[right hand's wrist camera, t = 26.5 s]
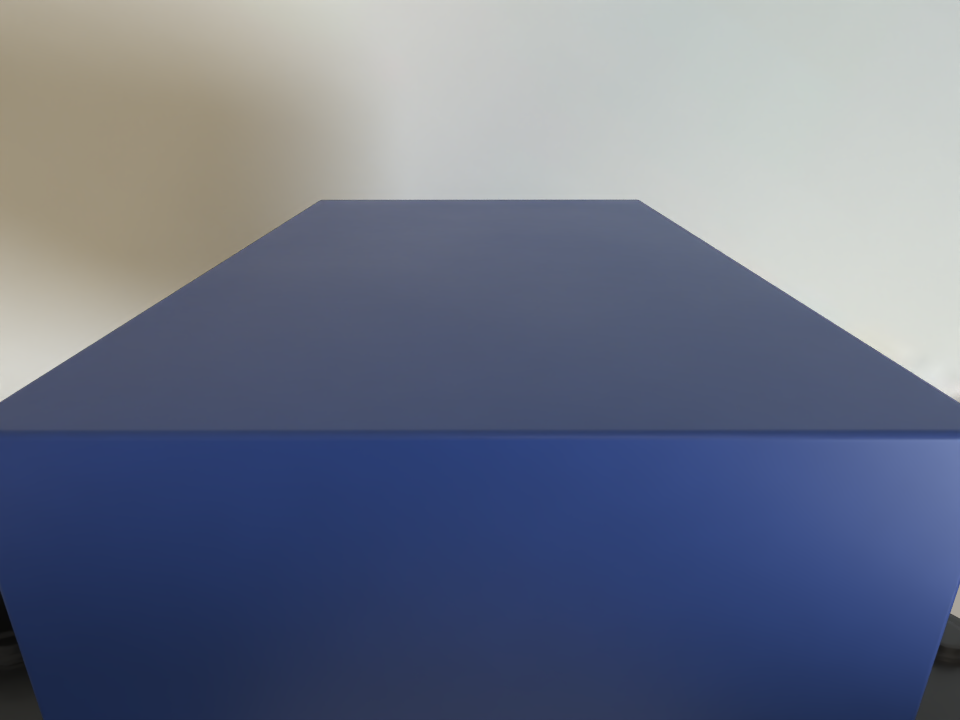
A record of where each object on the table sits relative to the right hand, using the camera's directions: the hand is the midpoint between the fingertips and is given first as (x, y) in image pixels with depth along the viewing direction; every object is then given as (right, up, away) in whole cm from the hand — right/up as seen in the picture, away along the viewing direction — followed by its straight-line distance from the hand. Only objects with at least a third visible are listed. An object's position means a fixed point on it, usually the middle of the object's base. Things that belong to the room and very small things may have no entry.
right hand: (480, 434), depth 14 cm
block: (0, +1, +3) cm, 3 cm away
